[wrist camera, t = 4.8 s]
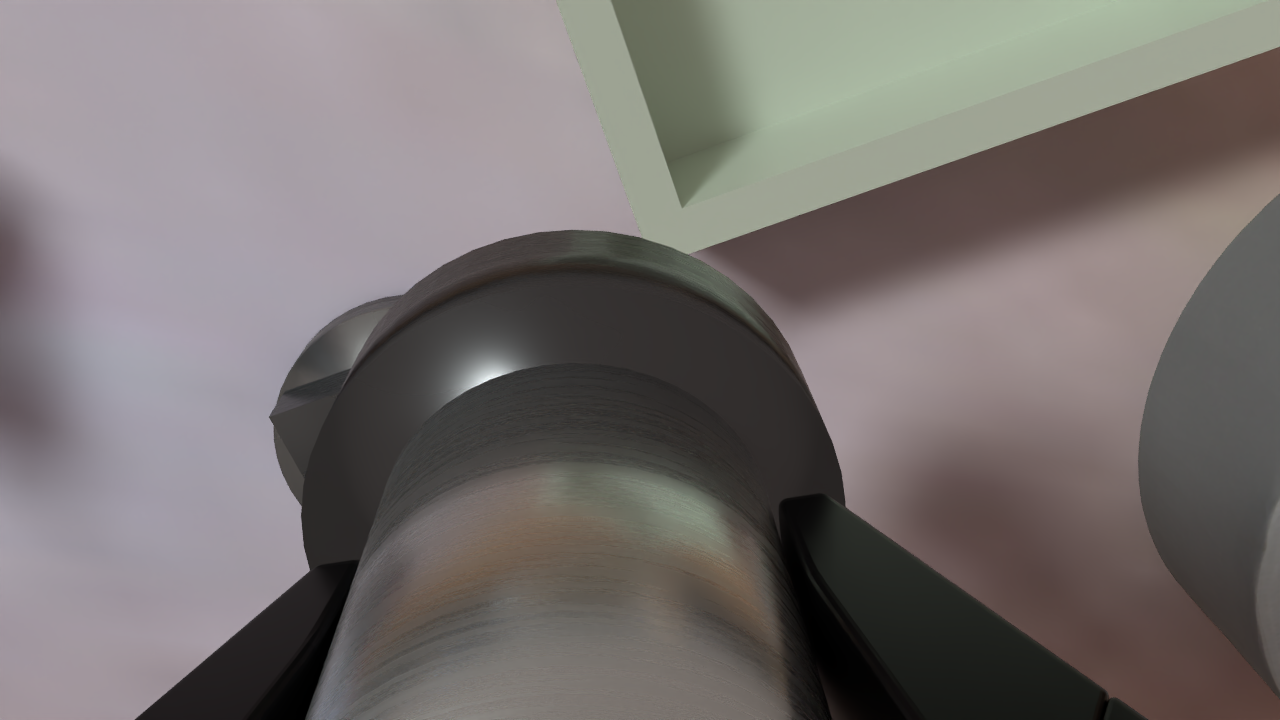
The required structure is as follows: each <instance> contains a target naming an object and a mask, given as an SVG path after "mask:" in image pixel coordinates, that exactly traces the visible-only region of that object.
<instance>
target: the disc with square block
mask: <svg viewBox="0 0 1280 720" xmlns="http://www.w3.org/2000/svg"><path fill="white" fill-rule="evenodd" d="M402 296H403V295H398V296H392V297H385V298H382V299H378V300H375V301H371V302H368V303H365V304H363V305H360V306H358V307H356V308H353V309H351V310H349V311H347V312H346V313H344V314H342V315H341V316H339V317H337V318H336V319H334V320H333V321H331V322H330V323H329V324H328V325H327V326H325V327H324V328H323V329H322V330H320V331H319V332H318V333H317V334H316V336H315V337H314V338H313V339H312V340H311V341H310V342H309V343H308V344H307V346H306V347H305V349H304V350H303V352H302V353H301V355H300V356H299V358H298V359H297V361H296V362H295V364H294V365H293V367H292V369H291V370H290V372H289V373H288V375H287V377H286V380H285V382H284V384H283V386H282V388H281V390H280V394H279V397H278V401H277V404H276V406H275V408H274V410H273V411H272V413H271V415H270V416H269V418H270V420H271V421H272V423H273V425H274V443H275V448H276V454H277V459H278V462H279V465H280V468H281V471H282V474H283V476H284V478H285V480H286V482H287V484H288V486H289V488H290V490H291V491H292V493H293V494H294V496H295V497H296V499H297V500H298V502H299V503H300V504H301V506H302V496H303V485H304V480H305V476H306V472H307V467H308V463H309V459H310V455H311V452H312V450H313V447H314V445H315V443H316V440H317V438H318V435H319V433H320V430H321V428H322V425H323V423H324V421H325V419H326V417H327V415H328V413H329V411H330V409H331V408H332V406H333V404H334V402H335V400H336V398H337V396H338V394H339V392H340V390H341V388H342V386H343V384H344V382H345V380H346V378H347V376H348V374H349V372H350V370H351V368H352V366H353V364H354V362H355V360H356V358H357V356H358V354H359V352H360V350H361V349H362V347H363V345H364V344H365V342H366V340H367V339H368V337H369V335H370V334H371V332H372V330H373V329H374V327H375V326H376V325H377V324H378V322H379V321H380V320H381V319H382V318H383V316H384V315H385V314H386V313H387V311H388V310H389V309H390V308H391V307H392V305H393V304H394V303H395V302H397V301H398V300H399V299H400V298H401V297H402Z"/></svg>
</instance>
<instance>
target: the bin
mask: <svg viewBox="0 0 1280 720" xmlns="http://www.w3.org/2000/svg"><path fill="white" fill-rule="evenodd" d="M556 2H557V5H558V7H559V10H560V13H561V16H562V18H563V21H564V24H565V27H566V29H567V32H568V35H569V38H570V41H571V43H572V46H573V49H574V52H575V54H576V57H577V60H578V63H579V65H580V68H581V71H582V74H583V76H584V79H585V82H586V85H587V87H588V90H589V93H590V96H591V98H592V101H593V104H594V107H595V109H596V112H597V115H598V118H599V120H600V123H601V126H602V129H603V131H604V134H605V137H606V140H607V142H608V145H609V148H610V151H611V153H612V156H613V159H614V162H615V164H616V167H617V170H618V173H619V175H620V178H621V181H622V184H623V186H624V189H625V192H626V195H627V197H628V200H629V203H630V206H631V208H632V211H633V214H634V217H635V220H636V222H637V225H638V228H639V231H640V233H641V236H642V238H643V239H646V240H649V241H653V242H656V243H659V244H662V245H666V246H669V247H672V248H674V249H676V250H678V251H681V252H683V253H685V254H690V253H693V252H696V251H699V250H702V249H704V248H707V247H710V246H713V245H716V244H719V243H721V242H724V241H727V240H730V239H733V238H736V237H739V236H741V235H744V234H747V233H750V232H753V231H756V230H759V229H761V228H764V227H767V226H770V225H773V224H776V223H778V222H781V221H784V220H787V219H790V218H793V217H796V216H798V215H801V214H804V213H807V212H810V211H813V210H816V209H818V208H821V207H824V206H827V205H830V204H833V203H836V202H838V201H841V200H844V199H847V198H850V197H853V196H855V195H858V194H861V193H864V192H867V191H870V190H873V189H875V188H878V187H881V186H884V185H887V184H890V183H893V182H895V181H898V180H901V179H904V178H907V177H910V176H913V175H915V174H918V173H921V172H924V171H927V170H930V169H932V168H935V167H938V166H941V165H944V164H947V163H950V162H952V161H955V160H958V159H961V158H964V157H967V156H970V155H972V154H975V153H978V152H981V151H984V150H987V149H990V148H992V147H995V146H998V145H1001V144H1004V143H1007V142H1009V141H1012V140H1015V139H1018V138H1021V137H1024V136H1027V135H1029V134H1032V133H1035V132H1038V131H1041V130H1044V129H1047V128H1049V127H1052V126H1055V125H1058V124H1061V123H1064V122H1066V121H1069V120H1072V119H1075V118H1078V117H1081V116H1084V115H1086V114H1089V113H1092V112H1095V111H1098V110H1101V109H1104V108H1106V107H1109V106H1112V105H1115V104H1118V103H1121V102H1124V101H1126V100H1129V99H1132V98H1135V97H1138V96H1141V95H1143V94H1146V93H1149V92H1152V91H1155V90H1158V89H1161V88H1163V87H1166V86H1169V85H1172V84H1175V83H1178V82H1181V81H1183V80H1186V79H1189V78H1192V77H1195V76H1198V75H1201V74H1203V73H1206V72H1209V71H1212V70H1215V69H1218V68H1220V67H1223V66H1226V65H1229V64H1232V63H1235V62H1238V61H1240V60H1243V59H1246V58H1249V57H1252V56H1255V55H1258V54H1260V53H1263V52H1266V51H1269V50H1272V49H1275V48H1278V47H1280V0H556Z"/></svg>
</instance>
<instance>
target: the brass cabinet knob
mask: <svg viewBox="0 0 1280 720" xmlns="http://www.w3.org/2000/svg"><path fill="white" fill-rule="evenodd" d="M818 493H823V494H826V495H828V496H830V497H832V498H833V499H834V500H836V501H837V502H839V503H840V504H842V505H843V506H844V507H845V495H844V488H843V481H842V473H841V469H840V466H839V463H838V459H837V456H836V453H835V449H834V446H833V443H832V440H831V438H830V436H829V434H828V431H827V429H826V427H825V424H824V422H823V420H822V417H821V415H820V413H819V410H818V408H817V406H816V404H815V401H814V399H813V397H812V394H811V392H810V390H809V387H808V385H807V383H806V381H805V378H804V376H803V374H802V371H801V369H800V367H799V365H798V363H797V361H796V359H795V357H794V354H793V352H792V350H791V348H790V346H789V344H788V343H787V341H786V340H785V338H784V337H783V335H782V334H781V332H780V331H779V329H778V328H777V326H776V325H775V323H774V322H773V320H772V319H771V318H770V317H769V316H768V315H767V314H766V313H765V311H764V310H763V309H762V308H761V307H760V306H759V305H758V304H757V303H756V302H755V300H754V299H753V298H752V297H751V296H749V295H748V294H747V293H746V292H745V291H743V290H742V289H741V288H740V287H739V286H737V285H736V284H735V283H734V282H733V281H731V280H730V279H729V278H728V277H726V276H724V275H723V274H721V273H720V272H718V271H716V270H715V269H713V268H712V267H710V266H709V265H707V264H705V263H704V262H702V261H700V260H698V259H696V258H694V257H692V256H689V255H687V254H685V253H683V252H681V251H678V250H676V249H674V248H672V247H669V246H666V245H662V244H659V243H656V242H653V241H649V240H646V239H643V238H640V237H634V236H629V235H623V234H617V233H611V232H605V231H584V230H564V231H551V232H539V233H533V234H528V235H523V236H519V237H514V238H509V239H504V240H501V241H498V242H496V243H493V244H490V245H487V246H484V247H481V248H478V249H475V250H472V251H470V252H468V253H466V254H464V255H462V256H460V257H458V258H456V259H454V260H452V261H450V262H448V263H446V264H444V265H443V266H441V267H440V268H438V269H437V270H435V271H434V272H432V273H431V274H429V275H428V276H427V277H425V278H424V279H422V280H421V281H419V282H418V283H416V284H415V285H414V286H413V287H412V288H411V289H410V290H409V291H408V292H406V293H405V294H404V295H403V296H402V297H401V298H400V299H399V300H398V301H397V302H395V303H394V304H393V305H392V307H391V308H390V309H389V310H388V311H387V313H386V314H385V315H384V316H383V318H382V319H381V320H380V321H379V322H378V324H377V325H376V326H375V327H374V329H373V330H372V332H371V334H370V335H369V337H368V339H367V340H366V342H365V344H364V345H363V347H362V349H361V350H360V352H359V354H358V356H357V358H356V360H355V362H354V364H353V366H352V368H351V370H350V372H349V374H348V376H347V378H346V380H345V382H344V384H343V386H342V388H341V390H340V392H339V394H338V396H337V398H336V400H335V402H334V404H333V406H332V408H331V409H330V411H329V413H328V415H327V417H326V419H325V421H324V423H323V425H322V428H321V430H320V433H319V435H318V438H317V440H316V443H315V445H314V447H313V450H312V452H311V455H310V459H309V463H308V467H307V472H306V476H305V480H304V485H303V496H302V512H301V520H302V530H303V541H304V548H305V552H306V556H307V560H308V564H309V568H310V571H311V570H312V569H313V568H315V567H316V566H319V565H321V564H328V563H335V562H342V561H350V560H360V562H359V565H358V568H357V571H356V574H355V577H354V579H353V582H352V585H351V588H350V591H349V594H348V597H347V600H346V603H345V605H344V608H343V611H342V614H341V617H340V620H339V623H338V626H337V629H336V632H335V634H334V637H333V640H332V643H331V646H330V649H329V652H328V655H327V658H326V660H325V663H324V666H323V669H322V672H321V675H320V678H319V681H318V684H317V687H316V689H315V692H314V695H313V698H312V701H311V704H310V707H309V710H308V713H307V715H306V718H305V720H832V717H831V713H830V710H829V706H828V703H827V699H826V696H825V693H824V689H823V686H822V682H821V679H820V675H819V672H818V668H817V665H816V661H815V658H814V654H813V651H812V648H811V644H810V641H809V637H808V634H807V630H806V627H805V623H804V620H803V616H802V613H801V609H800V606H799V603H798V599H797V596H796V592H795V589H794V585H793V582H792V578H791V575H790V571H789V568H788V564H787V561H786V558H785V554H784V551H783V547H782V544H781V535H780V525H779V504H780V502H781V501H782V500H783V499H785V498H791V497H797V496H804V495H811V494H818Z"/></svg>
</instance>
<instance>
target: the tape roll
mask: <svg viewBox="0 0 1280 720" xmlns="http://www.w3.org/2000/svg"><path fill="white" fill-rule="evenodd" d="M1138 468H1139V486H1140V494H1141V501H1142V506H1143V511H1144V515H1145V518H1146V522H1147V525H1148V528H1149V531H1150V534H1151V536H1152V539H1153V542H1154V544H1155V546H1156V548H1157V550H1158V552H1159V555H1160V556H1161V558H1162V560H1163V562H1164V563H1165V565H1166V567H1167V568H1168V569H1169V571H1170V572H1171V574H1172V575H1173V577H1174V578H1175V579H1176V581H1177V582H1178V583H1179V584H1180V585H1181V586H1182V587H1183V589H1184V590H1185V591H1186V592H1187V593H1188V594H1189V595H1190V597H1191V598H1192V599H1193V600H1194V601H1195V602H1196V603H1197V605H1198V606H1199V607H1200V608H1201V609H1202V610H1203V612H1204V613H1205V614H1206V615H1207V616H1208V617H1209V618H1210V620H1211V621H1212V622H1213V623H1214V624H1215V625H1216V626H1217V627H1218V628H1219V629H1220V630H1221V631H1222V633H1223V634H1224V635H1225V636H1226V637H1227V638H1228V639H1229V640H1230V642H1231V643H1232V644H1233V645H1234V646H1235V648H1236V649H1237V650H1238V651H1239V652H1240V654H1241V655H1242V656H1243V657H1244V658H1245V660H1246V661H1247V662H1248V663H1249V664H1250V665H1251V666H1252V667H1253V669H1254V670H1255V671H1256V672H1257V673H1258V674H1259V675H1260V676H1261V678H1262V679H1263V680H1264V681H1265V682H1266V683H1267V685H1268V686H1269V687H1270V688H1271V689H1272V691H1273V692H1274V693H1275V694H1276V695H1277V697H1278V698H1279V699H1280V194H1279V195H1278V196H1276V197H1275V198H1274V199H1273V200H1272V201H1271V202H1270V203H1269V204H1268V205H1266V206H1265V207H1264V208H1263V209H1262V211H1261V212H1260V213H1259V214H1258V215H1257V216H1256V217H1255V218H1254V219H1253V220H1252V221H1251V222H1250V223H1249V224H1248V225H1247V226H1246V227H1245V228H1244V229H1243V230H1242V231H1241V232H1240V234H1239V235H1238V236H1237V237H1236V238H1235V239H1234V240H1233V241H1232V242H1231V243H1230V245H1229V246H1228V247H1227V248H1226V249H1225V251H1224V252H1223V253H1222V255H1221V256H1220V257H1219V258H1218V260H1217V261H1216V262H1215V264H1214V265H1213V266H1212V268H1211V269H1210V270H1209V272H1208V273H1207V274H1206V276H1205V277H1204V279H1203V280H1202V281H1201V283H1200V284H1199V286H1198V287H1197V289H1196V290H1195V292H1194V294H1193V295H1192V297H1191V299H1190V300H1189V302H1188V303H1187V305H1186V307H1185V308H1184V310H1183V312H1182V314H1181V315H1180V317H1179V319H1178V321H1177V323H1176V325H1175V327H1174V329H1173V331H1172V333H1171V335H1170V337H1169V339H1168V341H1167V344H1166V346H1165V348H1164V350H1163V352H1162V355H1161V357H1160V360H1159V363H1158V365H1157V368H1156V371H1155V374H1154V376H1153V379H1152V382H1151V386H1150V389H1149V392H1148V396H1147V400H1146V404H1145V409H1144V414H1143V419H1142V424H1141V432H1140V441H1139V456H1138Z"/></svg>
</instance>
